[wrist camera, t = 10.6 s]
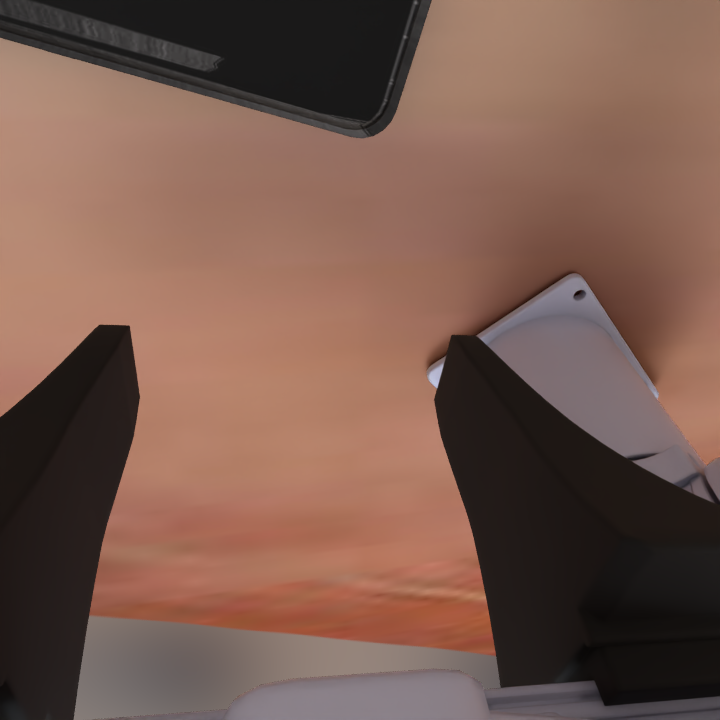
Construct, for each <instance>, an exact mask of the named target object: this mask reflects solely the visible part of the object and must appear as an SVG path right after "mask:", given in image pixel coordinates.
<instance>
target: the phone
mask: <svg viewBox="0 0 720 720" xmlns="http://www.w3.org/2000/svg"><path fill="white" fill-rule="evenodd" d="M431 1H432V0H0V38H3V39H7V40H10V41H14V42H18V43H21V44H25V45H28V46H32V47H35V48H39V49H42V50H46V51H48V52H52V53H55V54H59V55H62V56H66V57H70V58H73V59H78V60H81V61H85V62H88V63H92V64H95V65H99V66H102V67H106V68H110V69H113V70H117V71H120V72H124V73H127V74H131V75H134V76H138V77H141V78H145V79H148V80H152V81H155V82H159V83H163V84H166V85H170V86H173V87H177V88H180V89H184V90H187V91H191V92H194V93H198V94H201V95H205V96H208V97H212V98H216V99H219V100H223V101H226V102H230V103H233V104H237V105H240V106H244V107H247V108H251V109H254V110H258V111H261V112H265V113H269V114H272V115H276V116H279V117H283V118H286V119H290V120H293V121H297V122H300V123H304V124H307V125H311V126H314V127H318V128H322V129H325V130H329V131H332V132H336V133H339V134H343V135H346V136H350V137H356V138H366V137H371V136H374V135H376V134H378V133H379V132H381V131H383V130H384V129H385V128H386V127H387V126H388V125H389V124H390V122H391V121H392V119H393V117H394V115H395V113H396V110H397V107H398V104H399V101H400V98H401V95H402V91H403V88H404V85H405V82H406V79H407V76H408V73H409V70H410V67H411V63H412V60H413V57H414V54H415V51H416V48H417V45H418V42H419V38H420V35H421V32H422V29H423V26H424V23H425V20H426V17H427V13H428V10H429V7H430V4H431Z"/></svg>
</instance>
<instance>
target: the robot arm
mask: <svg viewBox="0 0 720 720" xmlns="http://www.w3.org/2000/svg"><path fill="white" fill-rule="evenodd" d="M579 290H582V291H581V293H580V294H579V295H576V296H574V294H575V293H576V292H577V291H579ZM427 377H428V380H429V381H430V382H431V383H432V384H433V385H434V386H435V387H436V388H437V391H436V395H435V399H434V401H435V407H436V413H437V419H438V424H439V429H440V434H441V438H442V441H443V444H444V447H445V450H446V453H447V456H448V459H449V462H450V465H451V468H452V471H453V474H454V477H455V480H456V483H457V486H458V489H459V492H460V495H461V498H462V500H463V503H464V506H465V509H466V512H467V515H468V519H469V522H470V526H471V529H472V533H473V537H474V541H475V546H476V551H477V555H478V560H479V564H480V569H481V574H482V579H483V584H484V589H485V594H486V599H487V604H488V609H489V615H490V621H491V627H492V633H493V639H494V645H495V651H496V657H497V664H498V671H499V678H500V685H501V688H492V689H483V686H482V683H481V682H480V681H478V680H476V679H475V678H473V677H471V676H469V675H467V674H465V673H463V672H462V671H460V670H445V669H423V670H409V671H395V672H380V673H367V674H352V675H338V676H325V677H310V678H296V679H288V680H283V681H277V682H272V683H267V684H261V685H259V686H257V687H255V688H253V689H251V690H249V691H247V692H245V693H243V694H241V695H239V696H238V697H237V698H236V699H235V700H234V701H233V702H232V703H231V705H230V706H229V708H228V709H223V710H210V711H197V712H185V713H172V714H159V715H146V716H134V717H120V718H108V719H95V720H720V457H719V458H716V459H714V460H713V461H712V462H711V463H709V464H708V465H707V466H706V464H705V463H704V462H703V460H702V459H701V458H700V456H699V455H698V454H697V452H696V451H695V450H694V448H693V447H692V446H691V444H690V443H689V442H688V440H687V439H686V438H685V436H684V435H683V433H682V432H681V431H680V429H679V428H678V427H677V425H676V424H675V423H674V421H673V420H672V419H671V417H670V416H669V415H668V413H667V412H666V411H665V409H664V408H663V407H662V405H661V404H660V402H659V401H658V400H657V398H658V396H659V393H658V391H657V389H656V388H655V386H654V385H653V383H652V382H651V380H650V379H649V377H648V376H647V374H646V373H645V371H644V370H643V368H642V367H641V365H640V364H639V362H638V360H637V359H636V357H635V356H634V354H633V353H632V351H631V350H630V348H629V347H628V345H627V344H626V342H625V341H624V339H623V338H622V336H621V335H620V333H619V332H618V330H617V328H616V327H615V325H614V324H613V322H612V321H611V319H610V318H609V316H608V315H607V313H606V312H605V310H604V309H603V307H602V306H601V304H600V303H599V301H598V300H597V298H596V297H595V295H594V293H593V292H592V290H591V289H590V287H589V286H588V284H587V283H586V281H585V280H584V279H583V277H582V276H581V275H580V274H576V273H573V274H569V275H567V276H565V277H564V278H562V279H561V280H559V281H558V282H556V283H555V284H553V285H552V286H550V287H549V288H547V289H546V290H544V291H543V292H541V293H540V294H538V295H537V296H535V297H534V298H532V299H531V300H529V301H528V302H526V303H525V304H523V305H522V306H520V307H519V308H517V309H515V310H514V311H512V312H511V313H509V314H508V315H506V316H505V317H503V318H502V319H500V320H499V321H497V322H496V323H494V324H493V325H491V326H490V327H488V328H487V329H485V330H484V331H482V332H481V333H479V334H478V335H476V336H468V335H452V336H451V339H450V343H449V347H448V351H447V354H446V356H445V357H443V358H442V359H440V360H438V361H437V362H435V363H434V364H432V365H431V366H430V367H429V368H428V369H427ZM139 399H140V394H139V388H138V381H137V374H136V367H135V360H134V353H133V346H132V339H131V332H130V326H126V325H99V326H98V327H96V328H95V329H94V330H93V331H92V332H91V333H90V334H89V335H88V336H87V337H86V338H85V339H84V340H83V341H82V342H81V343H80V345H79V346H78V347H77V348H76V349H75V350H74V351H73V352H72V353H71V354H70V355H69V356H68V357H67V358H66V359H65V360H64V361H63V362H62V363H61V364H60V365H59V366H58V367H57V368H56V369H54V370H53V371H52V372H51V373H50V374H49V375H48V376H47V377H46V378H45V379H44V380H43V381H42V382H41V383H40V384H39V385H38V386H37V387H35V388H34V389H33V390H32V391H31V392H30V393H29V394H27V395H26V396H25V397H24V398H23V399H22V400H20V401H19V402H18V403H17V404H16V405H15V406H13V407H12V408H11V409H10V410H9V411H8V412H6V413H5V414H4V415H3V416H1V417H0V720H73V719H74V711H75V704H76V697H77V689H78V682H79V675H80V669H81V662H82V656H83V649H84V643H85V636H86V630H87V624H88V618H89V612H90V607H91V601H92V595H93V589H94V583H95V578H96V573H97V568H98V562H99V557H100V552H101V546H102V542H103V538H104V534H105V530H106V526H107V522H108V519H109V516H110V513H111V509H112V506H113V503H114V500H115V496H116V493H117V490H118V487H119V483H120V480H121V477H122V474H123V470H124V467H125V464H126V460H127V457H128V454H129V450H130V447H131V444H132V440H133V437H134V431H135V425H136V419H137V412H138V406H139Z"/></svg>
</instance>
